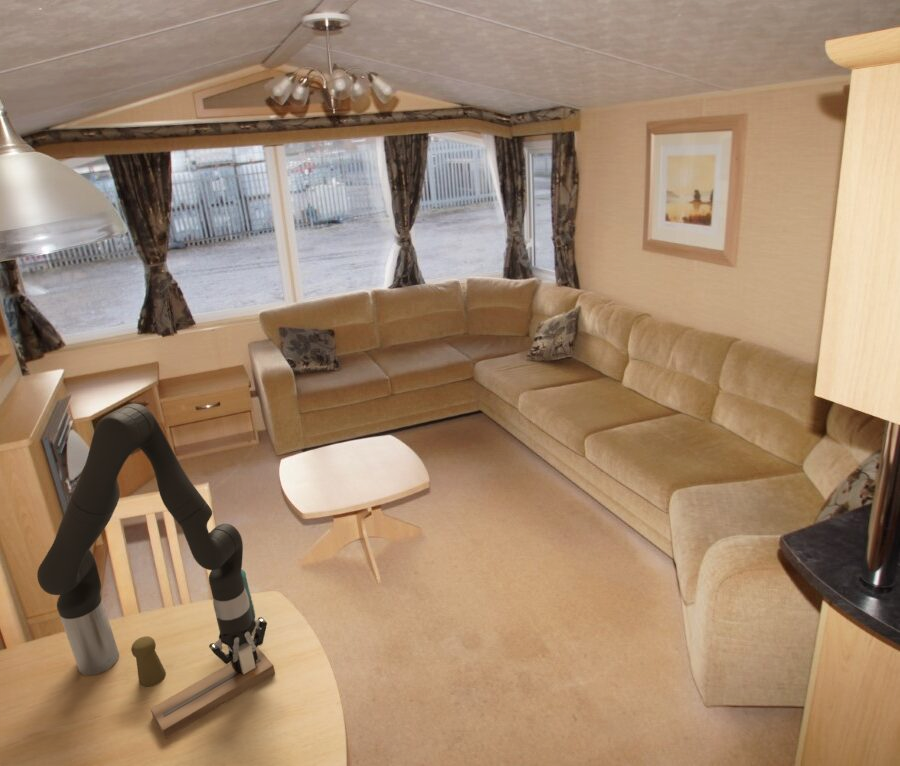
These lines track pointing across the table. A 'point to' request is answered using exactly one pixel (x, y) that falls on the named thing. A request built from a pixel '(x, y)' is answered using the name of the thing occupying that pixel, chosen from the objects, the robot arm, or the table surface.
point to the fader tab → (246, 658)
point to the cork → (148, 662)
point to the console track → (208, 695)
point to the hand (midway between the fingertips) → (245, 665)
